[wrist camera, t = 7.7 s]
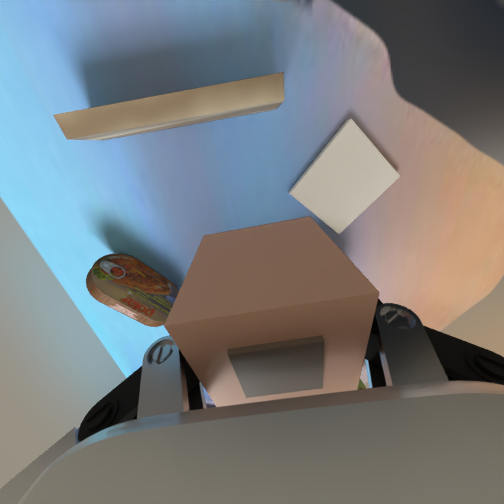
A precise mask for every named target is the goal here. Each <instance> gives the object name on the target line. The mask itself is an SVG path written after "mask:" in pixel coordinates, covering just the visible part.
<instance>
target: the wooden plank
mask: <svg viewBox="0 0 504 504" xmlns="http://www.w3.org/2000/svg"><path fill="white" fill-rule="evenodd" d="M283 101H284V78H283V72H281V73H276V74H270V75H265V76H260V77H254V78H249V79H243V80H238V81H233V82H227V83H222V84H217V85H211V86H206V87H201V88H195V89H190V90H184V91H179V92H174V93H168V94H163V95H158V96H152V97H147V98H142V99H136V100H131V101H125V102H120V103H115V104H109V105H104V106H99V107H93V108H88V109H83V110H77V111H72V112H66V113H61V114H56V115H54V117H55V119H56V121H57V123H58V124H59V126H60V128H61V130H62V131H63V133H64V135H65V137H66V138H67V139H74V140H108V139H113V138H119V137H124V136H130V135H136V134H141V133H147V132H153V131H158V130H164V129H169V128H175V127H181V126H186V125H192V124H198V123H203V122H209V121H214V120H220V119H226V118H231V117H237V116H243V115H248V114H254V113H259V112H265V111H271V110H276V109H277V108H278V107H279V106H280V105H281V104H282V102H283Z"/></svg>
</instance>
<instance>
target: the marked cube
mask: <svg viewBox="0 0 504 504" xmlns="http://www.w3.org/2000/svg"><path fill="white" fill-rule="evenodd" d="M378 297H379V291H378V290H377V289H376V288H375V287H374V286H373V285H372V283H371V282H370V281H369V280H368V279H367V278H366V277H365V276H364V275H363V274H362V273H361V271H360V270H359V269H358V268H357V267H356V266H355V265H354V264H353V263H352V262H351V260H350V259H349V258H348V257H347V256H346V255H345V254H344V253H343V252H342V251H341V250H340V248H339V247H338V246H337V245H336V244H335V243H334V242H333V241H332V240H331V239H330V237H329V236H328V235H327V234H326V233H325V232H324V231H323V230H322V229H321V228H320V227H319V225H318V224H317V223H316V222H315V221H314V220H313V219H312V218H311V217H310V216H308V217H303V218H298V219H292V220H287V221H281V222H276V223H270V224H265V225H259V226H254V227H248V228H243V229H237V230H232V231H227V232H221V233H216V234H210V235H205V236H204V237H203V239H202V241H201V243H200V246H199V248H198V250H197V252H196V255H195V257H194V259H193V261H192V264H191V266H190V268H189V270H188V273H187V275H186V277H185V279H184V282H183V284H182V286H181V288H180V291H179V293H178V295H177V297H176V300H175V302H174V304H173V306H172V309H171V311H170V313H169V315H168V318H167V320H166V322H165V324H164V326H165V328H166V330H167V331H168V333H169V334H170V336H171V337H172V339H173V340H174V342H175V343H176V345H177V346H178V348H179V350H180V351H181V353H182V354H183V356H184V357H185V359H186V360H187V362H188V363H189V365H190V366H191V368H192V370H193V371H194V373H195V374H196V376H197V377H198V379H199V380H200V382H201V383H202V385H203V386H204V388H205V390H206V391H207V393H208V394H209V396H210V397H211V399H212V400H213V402H214V403H215V405H216V406H217V407H222V406H230V405H237V404H245V403H253V402H261V401H269V400H277V399H285V398H293V397H302V396H310V395H318V394H326V393H335V392H343V391H352V390H357V388H358V384H359V379H360V375H361V371H362V366H363V362H364V358H365V353H366V349H367V345H368V340H369V336H370V331H371V327H372V323H373V318H374V314H375V310H376V305H377V301H378Z"/></svg>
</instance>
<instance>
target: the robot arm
mask: <svg viewBox="0 0 504 504" xmlns="http://www.w3.org/2000/svg"><path fill="white" fill-rule="evenodd" d="M364 359H365V363H366V369H367V376H368V382H369V389H360V390H352V391H343V392H335V393H326V394H318V395H310V396H302V397H293V398H285V399H277V400H269V401H261V402H253V403H245V404H237V405H230V406H222V407H214V408H207V407H206V402H205V396H204V390H203V385H202V383H201V382H200V380H199V379H198V377H197V376H196V374H195V373H194V371H193V370H192V368H191V366H190V365H189V363H188V362H187V360H186V359H185V357H184V356H183V354H182V353H181V351H180V350H179V348H178V346H177V345H176V343H175V342H174V340H173V339H172V337H171V336H165V337H162V338H160V339H158V340H157V341H155V342H154V343H153V344H152V345H151V346H150V347H149V348H148V349H147V351H146V353H145V354H144V358H143V365H142V366H141V367H140V368H139V369H138V370H136V371H135V372H134V373H133V374H132V375H130V376H129V377H128V378H127V379H125V380H124V381H123V382H122V383H121V384H119V385H118V386H117V387H116V388H115V389H113V390H112V391H111V392H110V393H108V394H107V395H106V396H105V397H104V398H102V399H101V400H100V401H99V402H98V403H97V404H96V405H94V406H93V407H92V408H91V410H90V411H89V412H88V413H87V415H86V416H85V418H84V420H83V421H82V423H81V425H80V427H79V428H78V429H77V428H73V429H72V430H71V431H70V432H68V433H67V434H66V435H65V436H64V437H62V438H61V439H60V440H59V441H57V442H56V443H55V444H54V445H53V446H51V447H50V448H49V449H48V450H47V451H45V452H44V453H43V454H42V455H40V456H39V457H38V458H37V459H36V460H34V461H33V462H32V463H31V464H29V465H28V466H27V467H26V468H25V469H23V470H22V471H21V472H20V473H19V474H17V475H16V476H15V477H14V478H12V479H11V480H10V481H9V482H8V483H7V484H6V485H4V486H3V487H2V488H1V489H0V504H504V357H502V356H501V355H499V354H496V353H494V352H492V351H489V350H487V349H484V348H481V347H479V346H476V345H474V344H471V343H468V342H466V341H463V340H460V339H458V338H455V337H452V336H450V335H447V334H444V333H442V332H439V331H436V330H434V329H431V328H428V327H426V326H423V324H422V322H421V320H420V319H419V317H418V316H417V315H416V314H415V313H414V312H413V311H411V310H410V309H408V308H406V307H404V306H401V305H398V304H393V303H385V304H383V303H382V302H381V301H380V300H379V299H378V301H377V305H376V310H375V314H374V318H373V323H372V327H371V331H370V336H369V340H368V345H367V349H366V353H365V358H364Z"/></svg>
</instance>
